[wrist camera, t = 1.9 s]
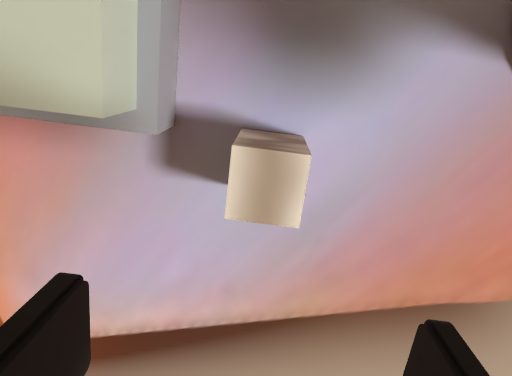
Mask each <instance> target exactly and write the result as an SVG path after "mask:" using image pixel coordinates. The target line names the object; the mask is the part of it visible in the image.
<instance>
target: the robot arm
mask: <svg viewBox="0 0 512 376" xmlns="http://www.w3.org/2000/svg"><path fill="white" fill-rule="evenodd" d="M90 359H91V350H90V312H89V284H88V282H87V281H84V280H83V277H82V276H81V275H77V274H69V273H58V274H57V275H55V276H54V277H53V278H52V279H51V280H50V281H49V282H48V283H47V284H46V285H45V286H44V287H43V288H42V289H40V290H39V291H38V292H37V293H36V294H35V295H34V296H33V297H32V298H31V299H30V300H29V301H28V302H26V303H25V304H24V305H23V306H22V307H21V308H20V309H19V310H18V311H17V312H16V313H15V314H14V315H13V316H11V317H10V318H9V319H8V320H7V321H6V322H5V323H4V324H3V325H2V326H1V327H0V376H84V375H85V373H86V371H87V370H88V367H89V364H90ZM403 376H489V374H488V373H487V371H486V370H485V369H484V367H483V366H482V365H481V363H480V362H479V360H478V359H477V358H476V356H475V355H474V354H473V352H472V351H471V349H470V348H469V347H468V345H467V344H466V343H465V341H464V340H463V338H462V337H461V336H460V334H459V333H458V332H457V330H456V329H455V327H454V326H453V325H452V324H451V323H450V322H445V321H437V320H426V321H425V323H424V324H420V325H419V326H418V329H417V332H416V335H415V338H414V342H413V345H412V348H411V351H410V354H409V358H408V361H407V364H406V367H405V370H404V374H403Z"/></svg>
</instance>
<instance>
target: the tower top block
mask: <svg viewBox="0 0 512 376" xmlns="http://www.w3.org/2000/svg"><path fill="white" fill-rule="evenodd" d="M137 17H138V0H0V105H1V106H9V107H17V108H25V109H33V110H41V111H49V112H57V113H65V114H72V115H80V116H88V117H96V118H106V117H110V116H113V115H117V114H121V113H124V112H128V111H131V110H135V109H136V102H137Z"/></svg>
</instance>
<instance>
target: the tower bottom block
mask: <svg viewBox="0 0 512 376" xmlns="http://www.w3.org/2000/svg"><path fill="white" fill-rule="evenodd" d="M179 20H180V0H138V17H137V102H136V109H135V110H131V111H128V112H124V113H121V114H117V115H113V116H110V117H106V118H96V117H88V116H80V115H72V114H65V113H57V112H49V111H41V110H33V109H25V108H17V107H9V106H1V105H0V115H5V116H13V117H20V118H28V119H36V120H44V121H52V122H59V123H67V124H75V125H83V126H91V127H98V128H106V129H114V130H122V131H130V132H137V133H145V134H153V135H158V134H160V133H161V132H163V131H165V130H167V129H169V128H171V127H173V126H174V123H175V103H176V82H177V61H178V41H179Z"/></svg>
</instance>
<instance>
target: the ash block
mask: <svg viewBox="0 0 512 376" xmlns="http://www.w3.org/2000/svg"><path fill="white" fill-rule="evenodd" d="M311 156H312V155H311V153H310V150H309V148H308V146H307V144H306V141H305V139H304V137H303V136H297V135H290V134H282V133H274V132H266V131H258V130H251V129H243V128H242V129H241V131H240V132H239V134H238V136H237V137H236V139H235V141H234V142H233V144H232V149H231V159H230V169H229V179H228V189H227V199H226V209H225V219H232V220H239V221H247V222H254V223H262V224H270V225H277V226H285V227H292V228H299V226H300V220H301V214H302V208H303V202H304V197H305V191H306V185H307V179H308V174H309V168H310V162H311Z"/></svg>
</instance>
